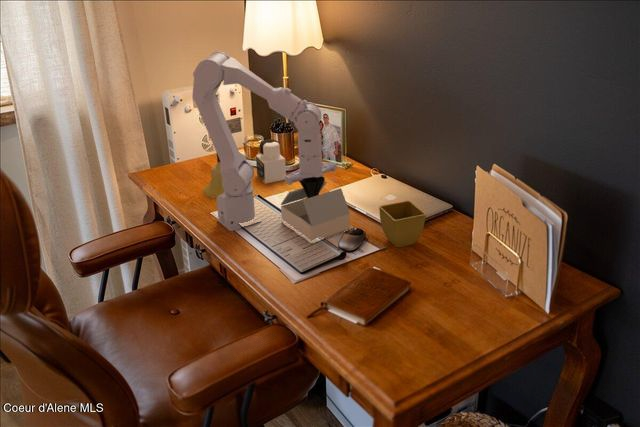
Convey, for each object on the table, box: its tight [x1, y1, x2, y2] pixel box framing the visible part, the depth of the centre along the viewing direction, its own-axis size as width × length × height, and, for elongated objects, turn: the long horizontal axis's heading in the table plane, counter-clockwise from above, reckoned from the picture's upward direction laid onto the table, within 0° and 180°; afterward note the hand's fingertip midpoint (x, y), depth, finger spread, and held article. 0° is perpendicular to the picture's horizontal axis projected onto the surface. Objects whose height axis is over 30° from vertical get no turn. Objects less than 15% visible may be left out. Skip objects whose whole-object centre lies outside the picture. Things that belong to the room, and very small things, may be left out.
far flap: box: [280, 180, 328, 206], centre depth 156 cm, size 12×7×1 cm
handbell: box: [202, 153, 225, 199], centre depth 172 cm, size 12×12×25 cm
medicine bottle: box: [255, 139, 287, 185], centre depth 182 cm, size 7×7×12 cm
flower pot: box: [378, 200, 427, 248], centre depth 146 cm, size 9×9×9 cm
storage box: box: [280, 198, 351, 241], centre depth 155 cm, size 12×14×5 cm
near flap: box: [301, 188, 351, 226], centre depth 148 cm, size 12×7×1 cm
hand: (312, 202), depth 154 cm, fingers closed, pressing on far flap
